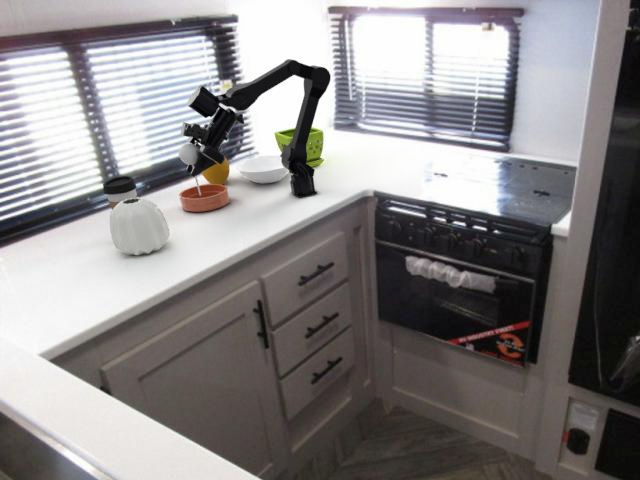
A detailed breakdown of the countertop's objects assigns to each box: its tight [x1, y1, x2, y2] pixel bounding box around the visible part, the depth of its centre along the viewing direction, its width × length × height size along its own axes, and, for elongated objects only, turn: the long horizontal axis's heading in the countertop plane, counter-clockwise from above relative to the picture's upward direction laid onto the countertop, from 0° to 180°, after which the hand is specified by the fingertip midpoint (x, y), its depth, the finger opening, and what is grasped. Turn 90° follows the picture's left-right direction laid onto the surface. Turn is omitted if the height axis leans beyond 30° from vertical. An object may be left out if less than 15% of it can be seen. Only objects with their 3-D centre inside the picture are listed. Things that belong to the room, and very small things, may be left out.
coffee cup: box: [102, 175, 139, 211], centre depth 159 cm, size 8×8×15 cm
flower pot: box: [274, 126, 324, 168], centre depth 209 cm, size 14×14×13 cm
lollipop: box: [178, 142, 201, 195], centre depth 163 cm, size 6×6×15 cm
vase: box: [109, 196, 171, 256], centre depth 148 cm, size 14×14×13 cm
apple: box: [200, 155, 230, 185], centre depth 196 cm, size 10×10×12 cm
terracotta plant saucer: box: [178, 183, 231, 213], centre depth 178 cm, size 14×14×4 cm
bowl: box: [235, 154, 290, 184], centre depth 196 cm, size 20×20×6 cm
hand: (189, 174), depth 163 cm, fingers closed on lollipop, 5 cm apart
